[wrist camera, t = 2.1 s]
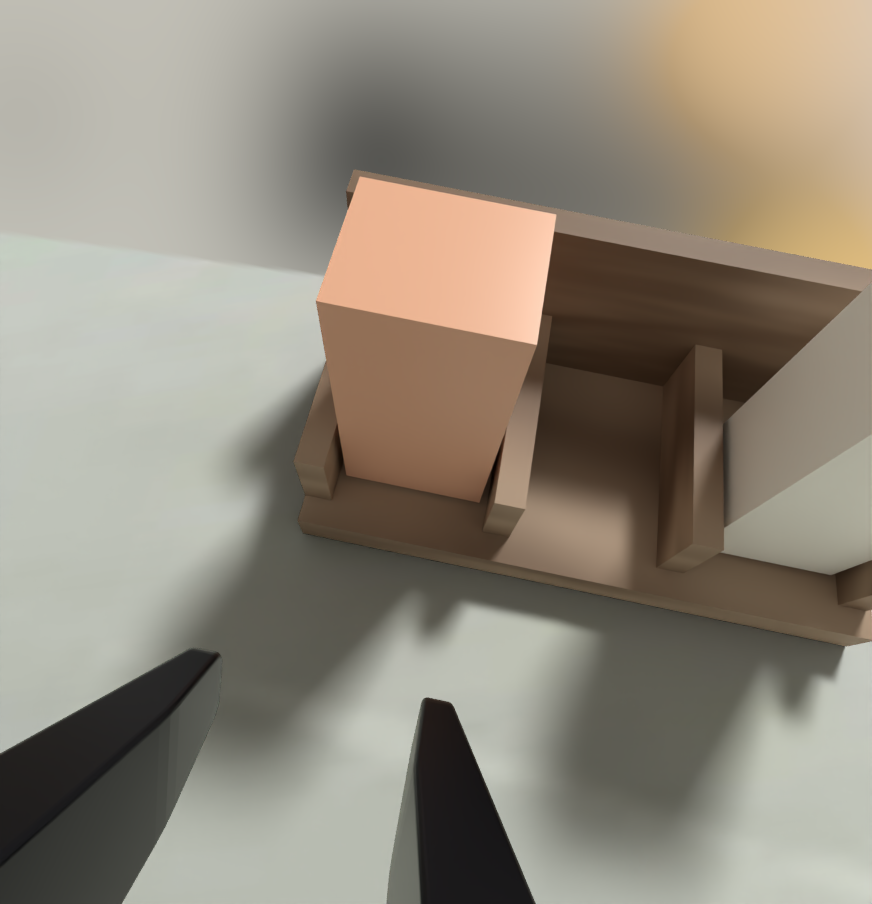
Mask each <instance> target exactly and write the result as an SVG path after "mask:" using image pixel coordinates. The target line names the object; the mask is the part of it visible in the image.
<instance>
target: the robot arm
mask: <svg viewBox="0 0 872 904" xmlns="http://www.w3.org/2000/svg"><path fill="white" fill-rule="evenodd" d="M221 673H222V657H221V655H220V654H219V653H218V652H214V651H209V650H205V649H200V648H191V649H188V650H186V651H184V652H183V653H181V654H179V655H177V656H175V657H174V658H172V659H170V660H168V661H166V662H165V663H163V664H161V665H159V666H157V667H156V668H154V669H152V670H150V671H148V672H147V673H145V674H143V675H141V676H139V677H138V678H136V679H134V680H132V681H130V682H128V683H127V684H125V685H123V686H121V687H119V688H118V689H116V690H114V691H112V692H110V693H109V694H107V695H105V696H103V697H101V698H100V699H98V700H96V701H94V702H92V703H91V704H89V705H87V706H85V707H83V708H82V709H80V710H78V711H76V712H74V713H73V714H71V715H69V716H67V717H65V718H63V719H62V720H60V721H58V722H56V723H54V724H53V725H51V726H49V727H47V728H45V729H44V730H42V731H40V732H38V733H36V734H35V735H33V736H31V737H29V738H27V739H26V740H24V741H22V742H20V743H18V744H17V745H15V746H13V747H11V748H9V749H7V750H6V751H4V752H2V753H0V904H122V902H123V901H124V899H125V897H126V895H127V894H128V892H129V890H130V888H131V887H132V885H133V883H134V881H135V880H136V878H137V876H138V875H139V873H140V871H141V869H142V868H143V866H144V864H145V862H146V861H147V859H148V857H149V855H150V854H151V852H152V850H153V848H154V847H155V845H156V843H157V841H158V839H159V837H160V836H161V834H162V832H163V830H164V828H165V826H166V824H167V822H168V820H169V818H170V816H171V814H172V811H173V809H174V807H175V805H176V803H177V800H178V798H179V796H180V794H181V791H182V789H183V787H184V785H185V782H186V780H187V778H188V776H189V774H190V771H191V769H192V767H193V765H194V762H195V760H196V758H197V756H198V753H199V751H200V749H201V747H202V744H203V742H204V740H205V738H206V735H207V733H208V731H209V729H210V727H211V724H212V722H213V720H214V717H215V715H216V712H217V708H218V704H219V698H220V686H221ZM387 904H536V903H535V901H534V899H533V896H532V894H531V891H530V889H529V887H528V884H527V882H526V879H525V877H524V875H523V872H522V870H521V867H520V865H519V863H518V860H517V858H516V855H515V853H514V851H513V848H512V846H511V843H510V841H509V839H508V836H507V834H506V831H505V829H504V826H503V824H502V822H501V819H500V817H499V814H498V812H497V810H496V807H495V805H494V802H493V800H492V798H491V795H490V793H489V790H488V788H487V786H486V783H485V781H484V778H483V776H482V774H481V771H480V769H479V766H478V764H477V762H476V759H475V757H474V754H473V752H472V750H471V747H470V745H469V742H468V740H467V737H466V735H465V733H464V730H463V728H462V725H461V723H460V721H459V718H458V716H457V713H456V711H455V709H454V707H453V705H452V704H451V703H449V702H446V701H442V700H437V699H432V698H424V699H423V700H422V703H421V707H420V711H419V716H418V720H417V725H416V730H415V734H414V739H413V743H412V748H411V753H410V758H409V764H408V769H407V775H406V781H405V786H404V792H403V797H402V803H401V809H400V814H399V820H398V825H397V831H396V837H395V842H394V848H393V853H392V860H391V866H390V873H389V882H388V893H387Z"/></svg>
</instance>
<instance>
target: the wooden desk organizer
mask: <svg viewBox="0 0 872 904" xmlns="http://www.w3.org/2000/svg"><path fill="white" fill-rule="evenodd" d="M359 177H365V178H370V179H375V180H381V181H386V182H391V183H396V184H401V185H406V186H412V187H417V188H422V189H427V190H432V191H437V192H443V193H448V194H453V195H458V196H463V197H468V198H474V199H479V200H484V201H489V202H494V203H499V204H505V205H510V206H515V207H520V208H525V209H530V210H536V211H541V212H546V213H551V214H556V221H555V228H554V234H553V241H552V248H551V254H550V261H549V268H548V274H547V281H546V288H545V295H544V301H543V308H542V315H541V321H540V328H539V335H538V341H537V346H536V349H535V352H534V354H533V357H532V360H531V363H530V365H529V368H528V371H527V374H526V376H525V379H524V382H523V384H522V387H521V390H520V393H519V395H518V398H517V401H516V404H515V406H514V409H513V412H512V415H511V417H510V420H509V423H508V425H507V428H506V431H505V434H504V436H503V439H502V442H501V445H500V447H499V450H498V453H497V455H496V458H495V461H494V464H493V466H492V469H491V472H490V475H489V477H488V480H487V483H486V486H485V488H484V491H483V494H482V496H481V499H480V502H479V503H478V502H473V501H468V500H463V499H459V498H454V497H449V496H444V495H439V494H434V493H429V492H425V491H420V490H415V489H410V488H405V487H400V486H395V485H391V484H386V483H381V482H376V481H371V480H366V479H361V478H357V477H352V476H347V475H346V470H345V464H344V458H343V453H342V447H341V441H340V436H339V430H338V424H337V418H336V413H335V407H334V401H333V395H332V390H331V384H330V378H329V373H328V367H327V361H326V363H325V366H324V369H323V372H322V375H321V378H320V381H319V384H318V387H317V390H316V393H315V396H314V400H313V403H312V406H311V409H310V412H309V415H308V418H307V421H306V424H305V427H304V430H303V433H302V436H301V439H300V443H299V446H298V449H297V452H296V455H295V458H294V461H293V462H294V465H295V468H296V470H297V473H298V476H299V479H300V482H301V484H302V487H303V490H304V493H305V498H304V501H303V504H302V507H301V510H300V514H299V517H298V520H297V521H298V523H299V525H300V527H301V530H302V532H303V533H305V534H310V535H314V536H319V537H324V538H329V539H334V540H338V541H343V542H348V543H353V544H358V545H362V546H367V547H372V548H377V549H382V550H386V551H391V552H396V553H401V554H406V555H410V556H415V557H420V558H425V559H430V560H434V561H439V562H444V563H449V564H453V565H458V566H463V567H468V568H473V569H477V570H482V571H487V572H492V573H497V574H501V575H506V576H511V577H516V578H521V579H525V580H530V581H535V582H540V583H545V584H549V585H554V586H559V587H564V588H569V589H573V590H578V591H583V592H588V593H592V594H597V595H602V596H607V597H612V598H616V599H621V600H626V601H631V602H636V603H640V604H645V605H650V606H655V607H660V608H664V609H669V610H674V611H679V612H684V613H688V614H693V615H698V616H703V617H708V618H712V619H717V620H722V621H727V622H731V623H736V624H741V625H746V626H751V627H755V628H760V629H765V630H770V631H775V632H779V633H784V634H789V635H794V636H799V637H803V638H808V639H813V640H818V641H823V642H827V643H832V644H837V645H842V646H851V645H856V644H860V643H865V642H870V641H872V612H871V610H872V560H870V561H868V562H865V563H862V564H860V565H857V566H854V567H852V568H849V569H846V570H844V571H841V572H838V573H836V574H833V575H828V574H823V573H818V572H813V571H808V570H803V569H799V568H794V567H789V566H784V565H779V564H774V563H769V562H765V561H760V560H755V559H750V558H745V557H740V556H735V555H731V554H726V553H721V552H722V551H724V485H723V424H724V423H725V422H726V421H727V420H728V419H729V418H730V417H731V416H732V415H733V414H734V413H735V412H736V411H737V410H738V409H739V408H741V407H742V406H743V405H744V404H745V403H746V402H747V401H748V400H749V399H750V398H751V397H752V396H753V395H754V394H755V393H756V392H757V391H758V390H759V389H760V388H762V387H763V386H764V385H765V384H766V383H767V382H768V381H769V380H770V379H771V378H772V377H773V376H774V375H775V374H776V373H777V372H778V371H779V370H780V369H781V368H782V367H784V366H785V365H786V364H787V363H788V362H789V361H790V360H791V359H792V358H793V357H794V356H795V355H796V354H797V353H798V352H799V351H800V350H801V349H802V348H803V347H805V346H806V345H807V344H808V343H809V342H810V341H811V340H812V339H813V338H814V337H815V336H816V335H817V334H818V333H819V332H820V331H821V330H822V329H823V328H824V327H825V326H827V325H828V324H829V323H830V322H831V321H832V320H833V319H834V318H835V317H836V316H837V315H838V314H839V313H840V312H841V311H842V310H843V309H844V308H845V307H846V306H848V305H849V304H850V303H851V302H852V301H853V300H854V299H855V298H856V297H857V296H858V295H859V294H860V293H861V292H862V291H863V290H864V289H865V288H866V287H867V286H868V285H870V284H871V283H872V270H871V269H866V268H860V267H856V266H851V265H845V264H840V263H835V262H830V261H825V260H820V259H814V258H809V257H804V256H799V255H794V254H788V253H783V252H778V251H773V250H768V249H763V248H758V247H752V246H747V245H742V244H736V243H732V242H726V241H721V240H716V239H711V238H705V237H701V236H696V235H690V234H685V233H680V232H675V231H670V230H664V229H659V228H654V227H649V226H644V225H639V224H633V223H628V222H623V221H618V220H613V219H608V218H602V217H597V216H592V215H587V214H582V213H577V212H572V211H566V210H561V209H556V208H551V207H545V206H540V205H535V204H530V203H525V202H520V201H515V200H509V199H504V198H499V197H494V196H489V195H483V194H478V193H473V192H468V191H462V190H458V189H453V188H447V187H442V186H437V185H432V184H427V183H422V182H416V181H411V180H405V179H401V178H396V177H391V176H385V175H380V174H375V173H369V172H365V171H359V170H354V171H353V174H352V177H351V179H350V182H349V185H348V188H347V191H346V193H347V206H348V209H349V206H350V203H351V200H352V197H353V194H354V192H355V189H356V186H357V183H358V180H359Z"/></svg>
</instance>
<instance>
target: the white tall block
mask: <svg viewBox="0 0 872 904" xmlns="http://www.w3.org/2000/svg"><path fill="white" fill-rule="evenodd" d="M723 485H724V551H722V552H721V553H726V554H731V555H735V556H740V557H745V558H750V559H755V560H760V561H765V562H769V563H774V564H779V565H784V566H789V567H794V568H799V569H803V570H808V571H813V572H818V573H823V574H828V575H833V574H836V573H838V572H841V571H844V570H846V569H849V568H852V567H854V566H857V565H860V564H862V563H865V562H868V561H870V560H872V283H871V284H870V285H868V286H867V287H866V288H865V289H864V290H863V291H862V292H861V293H860V294H859V295H858V296H857V297H856V298H855V299H854V300H853V301H852V302H851V303H850V304H849V305H848V306H846V307H845V308H844V309H843V310H842V311H841V312H840V313H839V314H838V315H837V316H836V317H835V318H834V319H833V320H832V321H831V322H830V323H829V324H828V325H827V326H825V327H824V328H823V329H822V330H821V331H820V332H819V333H818V334H817V335H816V336H815V337H814V338H813V339H812V340H811V341H810V342H809V343H808V344H807V345H806V346H805V347H803V348H802V349H801V350H800V351H799V352H798V353H797V354H796V355H795V356H794V357H793V358H792V359H791V360H790V361H789V362H788V363H787V364H786V365H785V366H784V367H782V368H781V369H780V370H779V371H778V372H777V373H776V374H775V375H774V376H773V377H772V378H771V379H770V380H769V381H768V382H767V383H766V384H765V385H764V386H763V387H762V388H760V389H759V390H758V391H757V392H756V393H755V394H754V395H753V396H752V397H751V398H750V399H749V400H748V401H747V402H746V403H745V404H744V405H743V406H742V407H741V408H739V409H738V410H737V411H736V412H735V413H734V414H733V415H732V416H731V417H730V418H729V419H728V420H727V421H726V422H725V423H724V424H723Z"/></svg>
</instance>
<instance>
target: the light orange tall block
mask: <svg viewBox="0 0 872 904" xmlns="http://www.w3.org/2000/svg"><path fill="white" fill-rule="evenodd" d="M555 221H556V214H551V213H546V212H541V211H536V210H530V209H525V208H520V207H515V206H510V205H505V204H499V203H494V202H489V201H484V200H479V199H474V198H468V197H463V196H458V195H453V194H448V193H443V192H437V191H432V190H427V189H422V188H417V187H412V186H406V185H401V184H396V183H391V182H386V181H381V180H375V179H370V178H365V177H359V180H358V183H357V186H356V189H355V192H354V194H353V197H352V200H351V203H350V206H349V209H348V212H347V214H346V217H345V220H344V223H343V226H342V229H341V231H340V235H339V237H338V240H337V243H336V246H335V248H334V251H333V254H332V257H331V260H330V263H329V265H328V268H327V271H326V274H325V277H324V280H323V282H322V285H321V288H320V291H319V294H318V297H317V300H316V304H317V310H318V315H319V321H320V327H321V333H322V338H323V344H324V350H325V355H326V361H327V367H328V373H329V378H330V384H331V390H332V395H333V401H334V407H335V413H336V418H337V424H338V430H339V436H340V441H341V447H342V453H343V458H344V464H345V470H346V475H347V476H352V477H357V478H361V479H366V480H371V481H376V482H381V483H386V484H391V485H395V486H400V487H405V488H410V489H415V490H420V491H425V492H429V493H434V494H439V495H444V496H449V497H454V498H459V499H463V500H468V501H473V502H478V503H479V502H480V499H481V496H482V494H483V491H484V488H485V486H486V483H487V480H488V477H489V475H490V472H491V469H492V466H493V464H494V461H495V458H496V455H497V453H498V450H499V447H500V445H501V442H502V439H503V436H504V434H505V431H506V428H507V425H508V423H509V420H510V417H511V415H512V412H513V409H514V406H515V404H516V401H517V398H518V395H519V393H520V390H521V387H522V384H523V382H524V379H525V376H526V374H527V371H528V368H529V365H530V363H531V360H532V357H533V354H534V352H535V349H536V346H537V341H538V335H539V328H540V321H541V315H542V308H543V301H544V295H545V288H546V281H547V274H548V268H549V261H550V254H551V248H552V241H553V234H554V228H555Z"/></svg>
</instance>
